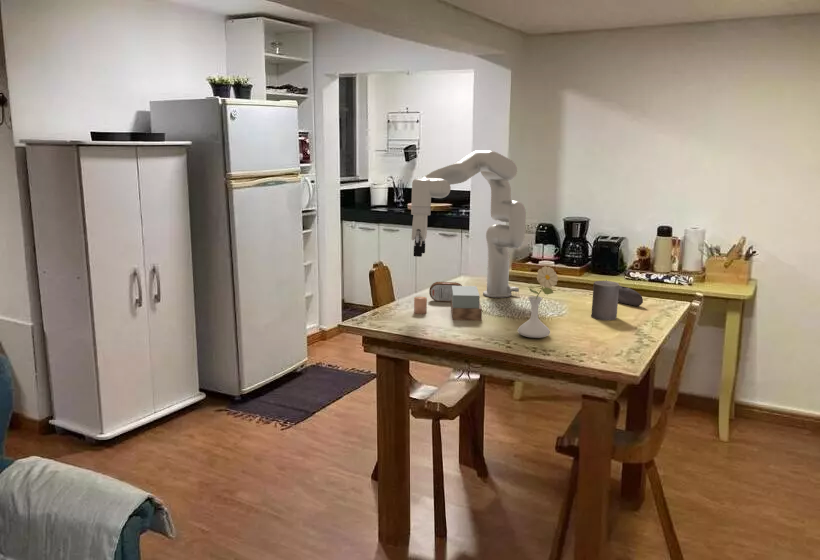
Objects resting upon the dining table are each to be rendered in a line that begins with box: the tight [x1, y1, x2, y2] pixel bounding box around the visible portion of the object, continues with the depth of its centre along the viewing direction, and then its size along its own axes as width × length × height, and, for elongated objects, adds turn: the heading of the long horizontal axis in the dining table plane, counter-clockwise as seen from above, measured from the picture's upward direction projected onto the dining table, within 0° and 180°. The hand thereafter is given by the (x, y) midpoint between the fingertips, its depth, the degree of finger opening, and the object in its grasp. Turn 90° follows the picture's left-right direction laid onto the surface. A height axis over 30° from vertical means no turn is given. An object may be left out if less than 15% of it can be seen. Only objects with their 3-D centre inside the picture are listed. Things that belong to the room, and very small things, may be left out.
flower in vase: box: [516, 265, 559, 339], centre depth 231 cm, size 13×11×25 cm
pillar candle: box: [590, 279, 620, 321], centre depth 259 cm, size 10×10×15 cm
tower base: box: [450, 297, 483, 321], centre depth 263 cm, size 11×19×5 cm, turn 179°
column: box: [413, 296, 428, 315], centre depth 265 cm, size 5×5×6 cm
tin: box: [428, 281, 463, 303], centre depth 284 cm, size 15×3×8 cm, turn 84°
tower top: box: [452, 285, 481, 308], centre depth 262 cm, size 10×18×5 cm, turn 178°
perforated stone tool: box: [618, 285, 644, 307], centre depth 282 cm, size 15×5×7 cm, turn 29°
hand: (419, 254), depth 261 cm, fingers open, 9 cm apart
